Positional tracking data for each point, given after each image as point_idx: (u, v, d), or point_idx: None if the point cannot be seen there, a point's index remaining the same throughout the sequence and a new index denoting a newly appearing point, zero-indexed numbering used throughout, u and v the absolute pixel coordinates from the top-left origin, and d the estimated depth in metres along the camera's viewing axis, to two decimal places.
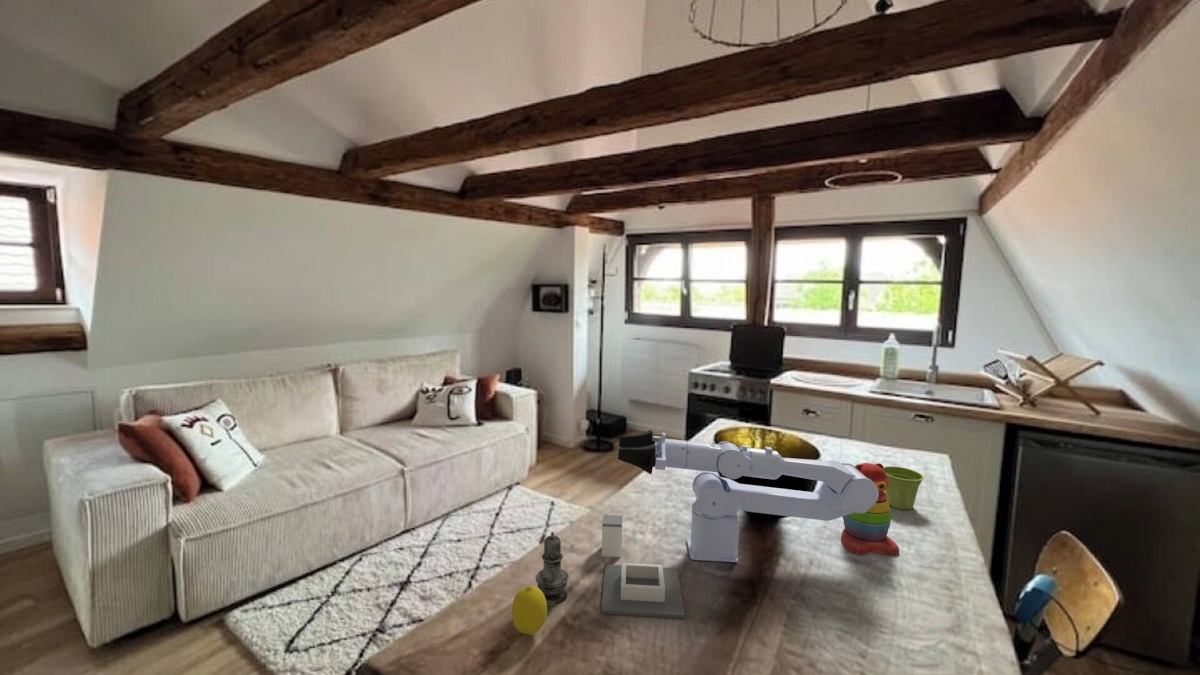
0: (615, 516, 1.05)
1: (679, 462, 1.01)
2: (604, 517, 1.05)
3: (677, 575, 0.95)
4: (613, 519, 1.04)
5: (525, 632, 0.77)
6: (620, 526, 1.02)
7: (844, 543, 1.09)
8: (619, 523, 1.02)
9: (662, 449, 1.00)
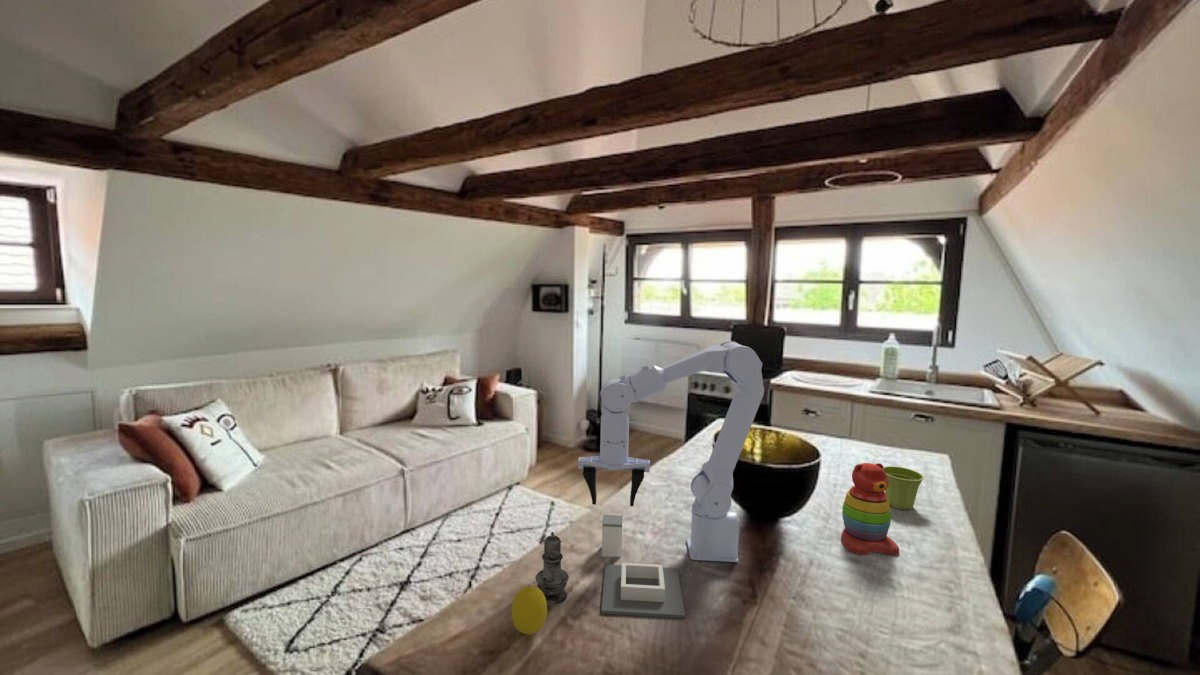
0: (615, 516, 1.05)
1: None
2: (604, 517, 1.05)
3: (677, 575, 0.95)
4: (613, 519, 1.04)
5: (525, 632, 0.77)
6: (620, 526, 1.02)
7: (844, 543, 1.09)
8: (619, 523, 1.02)
9: (632, 466, 1.01)
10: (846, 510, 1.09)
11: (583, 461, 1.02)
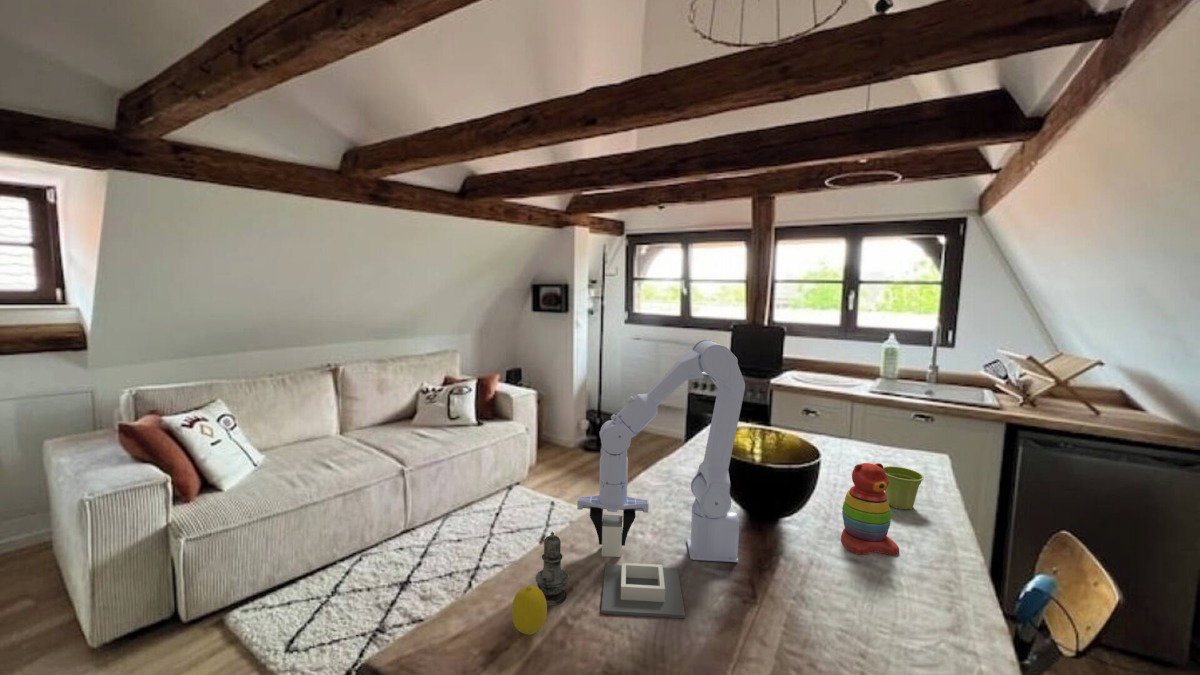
0: (615, 516, 1.05)
1: None
2: (604, 517, 1.05)
3: (677, 575, 0.95)
4: (613, 519, 1.04)
5: (525, 632, 0.77)
6: (620, 526, 1.02)
7: (844, 543, 1.09)
8: (619, 523, 1.02)
9: (631, 507, 1.02)
10: (846, 510, 1.09)
11: (582, 501, 1.03)
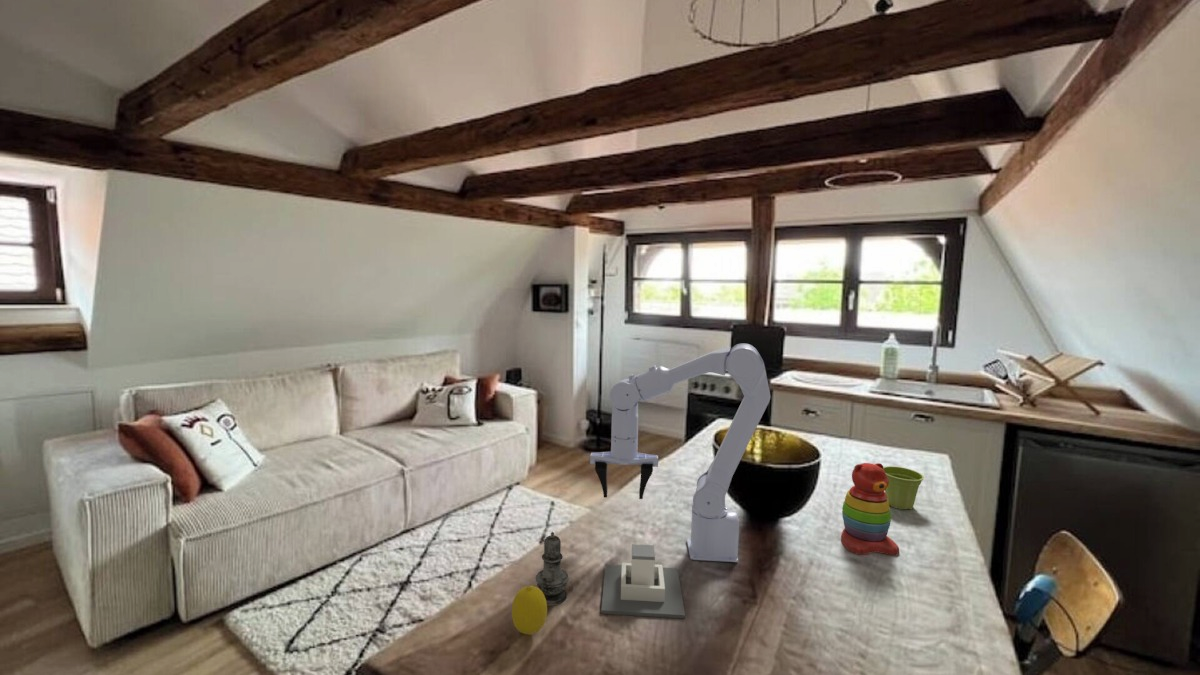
0: (645, 546, 0.92)
1: None
2: (633, 547, 0.92)
3: (677, 575, 0.95)
4: (644, 550, 0.91)
5: (525, 632, 0.77)
6: (652, 559, 0.89)
7: (844, 543, 1.09)
8: (651, 555, 0.89)
9: (641, 461, 1.07)
10: (846, 510, 1.09)
11: (595, 456, 1.08)
